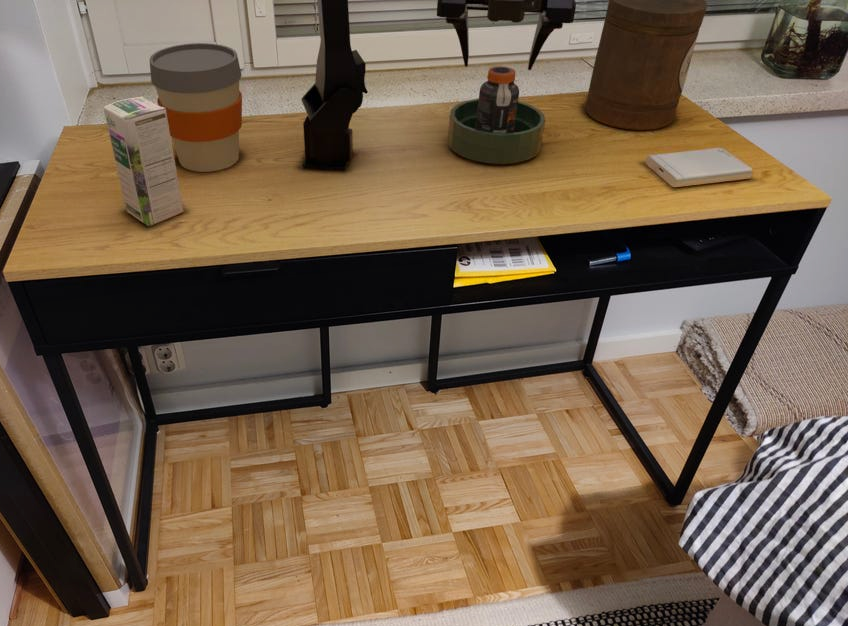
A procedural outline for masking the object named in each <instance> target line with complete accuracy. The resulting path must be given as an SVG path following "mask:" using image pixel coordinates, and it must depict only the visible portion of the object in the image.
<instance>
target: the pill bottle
mask: <svg viewBox="0 0 848 626" xmlns="http://www.w3.org/2000/svg"><path fill="white" fill-rule="evenodd" d="M487 72H488V73H487V77H486V78H487V81H484V82H483V83H482V84H481V86H480V87H479V93H478V98H479V101H478V110H477V118H476V127H475V129H476V130H480V131H485V132H491V133H513V132H514V125H515V119H516V112H517V105H518V101H519V98H520V87H519V86H518V85H517V84H516V83H515V80H516V73H517V71H516V70H515V69H513V68H511V67H508V66H499V65H498V66H492V67H490V68H489V69H488V71H487Z"/></svg>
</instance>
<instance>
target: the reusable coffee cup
mask: <svg viewBox="0 0 848 626" xmlns="http://www.w3.org/2000/svg"><path fill="white" fill-rule="evenodd" d="M149 70H150V81H151V83H152V85H153V86H154V87H155V90H156V93H157V96H158V97H157V100H156V102H157V103H156V104H157V105H159V106H160V107H164V108H165V109H166V114H167V120H168V125H169V131H170V137H171V141H172V144H173V146H174V149H175V153H176V155H177V159H178V162H179V164H180V166H182V167H183V168H184V169H186V170H189V171H193V172H201V173H208V172H209V173H211V172H216V171H217V172H218V171H221V170H225V169H227V168H230V167H232V166H233V165H235V164H236V163H237V162H238V161H239V156H240V130H241V128H242V125H243V93H242V92H241V90H240V80H241V78H242V71H241V66H240V61H239V57H238V53H237V51H236V50H235V49H233V48H232V47H230V46H227V45H223V44H217V43H208V42H207V43H206V42H195V43H194V42H193V43H183V44H177V45H172V46H168V47H165V48H162V49H160V50H158V51H156V52H153V54H152V55H150V57H149Z"/></svg>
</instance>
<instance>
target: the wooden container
mask: <svg viewBox="0 0 848 626" xmlns="http://www.w3.org/2000/svg"><path fill="white" fill-rule="evenodd" d="M707 7H708V3H707V1H706V0H608V4H607V10H606V13H605V19H604V22H603V26H602V30H601V35H600V39H599V43H598V47H597V51H596V56H595V59H594V64H593V68H592V73H591V77H590V82H589V87H588V92H587V96H586V101H585V106H584V110H585V112H586V114H587V115H588V116H589V117H590V118H591V119H592V120H593V119H594V120H595V121H597V122H599V123H601V124H604V125H607V126H609V127H614V128H618V129H623V130H633V131H650V130H657V129H660V128H661V129H662V128H664V127H667V126H668V125H670V124H671V123H672V122H673V121H674V119H675V116H676V113H677V110H678V106H679V104H680V103H679V102H680V99H681V96H682V94H683V90H684V87H685V83H686V80H687V76H688V73H689V69H690V66H691V61H692V58H693V54H694V50H695V46H696V44H697V40H698V37H699V32H700V28H702V25H703V22H704V19H705V15H706V11H707Z"/></svg>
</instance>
